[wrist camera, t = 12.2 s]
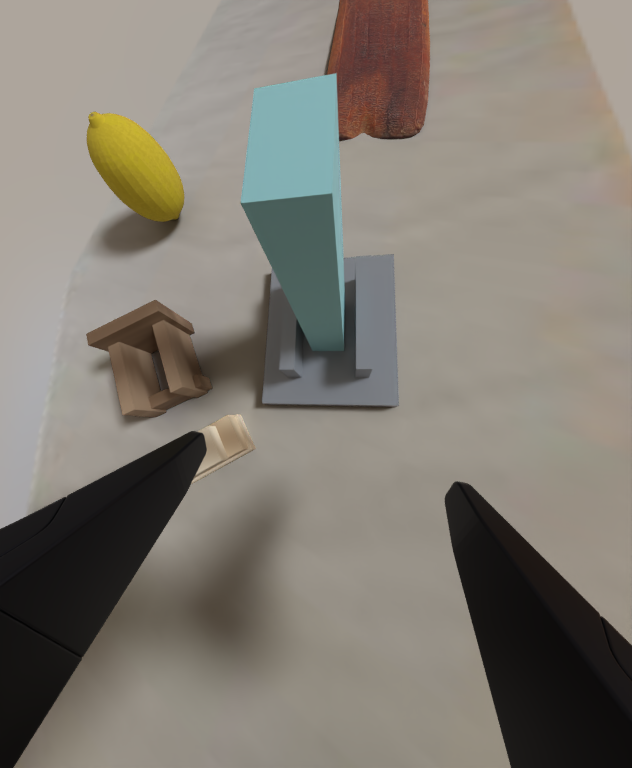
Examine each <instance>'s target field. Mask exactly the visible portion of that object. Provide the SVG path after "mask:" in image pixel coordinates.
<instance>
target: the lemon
mask: <svg viewBox="0 0 632 768" xmlns="http://www.w3.org/2000/svg"><path fill="white" fill-rule="evenodd" d="M88 118H89V122H90V124H89V127H88V130H87V146H88V150H89V154H90V157H91V159H92V162H93V163H94V166H95V167H96V169H97V170H98V172H99V174H100V175H101V177H102V178H103V179H104V181H105V182H106V184H107V185H108V186H109V188H110V189H111V190H112V191H113V192H114V194H115V195H116V196H117V197H118V198H119V199H120V200H121V201H122V202H123V203H124V204H126V205H127V206H128V207H129V208H131V209H132V210H133V211H135V212H136V213H138V214H139V215H141V216H143V217H145V218H147V219H150V220H154V221H161V222H165V221H169V220H172V219H178V218H179V213H180V212H181V210H182V208H183V205H184V190H183V185H182V182H181V179H180V176H179V174H178V172H177V170H176V168H175V167H174V165H173V163H172V162H171V160H170V158H169V157H168V155H167V154H166V153H165V151H164V150H163V149H162V147H161V146H160V145H159V144H158V143H157V142H156V141H155V139H154V138H153V137H152V136H151V135H150V134H149V133H148V132H146V131H145V130H144V129H143V128H142V127H140V126H139V125H138V124H137V123H135V122H134V121H132V120H130V119H128V118H126V117H123V116H120V115H117V114H110V113H107V114H99V113H97V112H92V113H91V114H90V115H89V117H88Z"/></svg>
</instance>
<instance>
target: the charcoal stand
mask: <svg viewBox="0 0 632 768" xmlns="http://www.w3.org/2000/svg"><path fill="white" fill-rule="evenodd" d="M343 260H344V286H345V332H344V351H312V349H311V347H310V345H309V342H308V340H307V338H306V336H305V334H304V332H303V330H302V328H301V326H300V324H299V322H298V320H297V318H296V316H295V314H294V312H293V310H292V308H291V306H290V303H289V301H288V299H287V297H286V295H285V293H284V291H283V289H282V287H281V285H280V283H279V281H278V279H277V277H276V275H275V273H274V271H273V269H272V274H271V288H270V302H269V315H268V329H267V342H266V356H265V370H264V383H263V397H262V403H263V404H267V405H322V406H378V407H397V406H399V397H398V368H397V339H396V311H395V282H394V254H390V255H377V256H357V257H351V258H343Z"/></svg>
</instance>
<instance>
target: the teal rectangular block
mask: <svg viewBox="0 0 632 768" xmlns="http://www.w3.org/2000/svg"><path fill="white" fill-rule="evenodd" d="M241 205H242V207H243V209H244V211H245V213H246V215H247V217H248V219H249V221H250V223H251V225H252V227H253V230H254V232H255V234H256V236H257V238H258V240H259V242H260V244H261V246H262V248H263V250H264V252H265V254H266V256H267V258H268V260H269V262H270V264H271V266H272V269H273V271H274V273H275V275H276V277H277V279H278V281H279V283H280V285H281V287H282V289H283V291H284V293H285V295H286V297H287V299H288V301H289V303H290V306H291V308H292V310H293V312H294V314H295V316H296V318H297V320H298V322H299V324H300V326H301V328H302V330H303V332H304V334H305V336H306V338H307V340H308V342H309V345H310V347H311V349H312V351H344V332H345V286H344V260H343V234H342V208H341V182H340V155H339V129H338V103H337V77H336V73H335V74H330V75H324V76H319V77H314V78H308V79H303V80H298V81H292V82H287V83H281V84H276V85H271V86H265V87H260V88H255V89H254V96H253V104H252V113H251V121H250V130H249V138H248V146H247V155H246V163H245V172H244V180H243V188H242V197H241Z"/></svg>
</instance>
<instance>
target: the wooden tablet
mask: <svg viewBox="0 0 632 768" xmlns="http://www.w3.org/2000/svg"><path fill="white" fill-rule="evenodd" d="M429 61H430V35H429V12H428V0H340V4H339V11H338V17H337V23H336V28H335V34H334V38H333V44H332V50H331V55H330V60H329V66H328V73H327V75H330V74H335V73H336V77H337V103H338V129H339V141H341V140H348V139H352V138H354V137H356V136H358V135H359V134H361V133H366V134H367V135H370V136H371V137H375V138H380V139H398V138H399V139H401V138H407V137H412V136H414V135H416V134H417V133H419V132H420V130H421V128H422V127H423V125H424V121H425V115H426V108H427V102H428V89H429V68H430V63H429Z"/></svg>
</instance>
